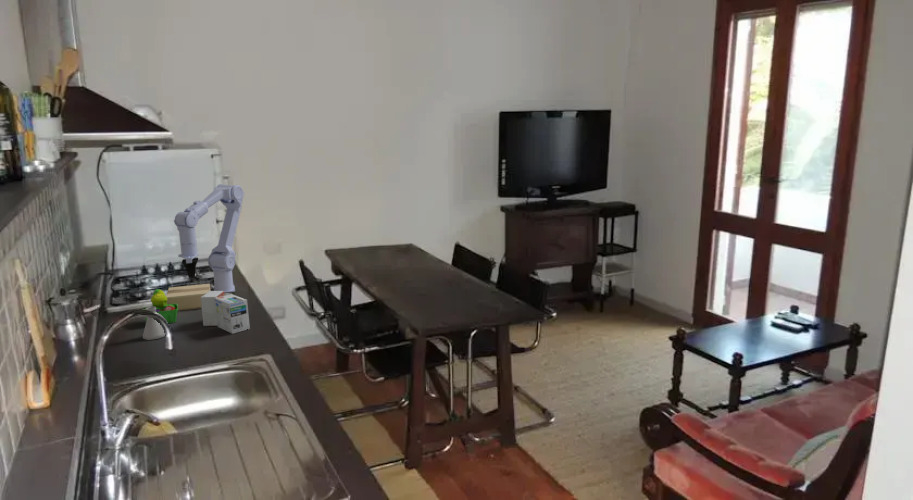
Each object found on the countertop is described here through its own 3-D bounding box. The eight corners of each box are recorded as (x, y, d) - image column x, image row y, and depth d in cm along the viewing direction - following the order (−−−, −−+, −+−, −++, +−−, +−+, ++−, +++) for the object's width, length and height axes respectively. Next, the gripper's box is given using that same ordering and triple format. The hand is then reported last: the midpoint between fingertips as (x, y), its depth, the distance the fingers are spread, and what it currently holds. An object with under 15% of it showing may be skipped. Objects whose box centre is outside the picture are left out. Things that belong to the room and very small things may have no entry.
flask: (161, 331, 219) (157, 303, 216) (169, 336, 214) (166, 307, 211) (139, 336, 214) (135, 308, 211) (147, 342, 209) (143, 312, 206)
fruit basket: (144, 327, 222) (140, 296, 220) (144, 320, 230) (140, 289, 228) (179, 322, 227) (176, 292, 224) (179, 315, 235) (175, 285, 232)
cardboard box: (170, 301, 252) (169, 289, 251) (211, 297, 257) (210, 285, 256) (167, 311, 239) (166, 299, 238) (210, 307, 244) (209, 294, 243)
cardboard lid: (169, 289, 251) (168, 287, 251) (210, 285, 256) (209, 283, 256) (166, 299, 238) (165, 297, 238) (209, 294, 243) (209, 292, 243)
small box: (218, 326, 223) (216, 297, 221) (203, 326, 223) (199, 297, 221) (227, 318, 231) (224, 290, 229) (212, 318, 231) (209, 290, 229)
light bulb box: (250, 329, 220) (247, 299, 217) (232, 334, 215) (229, 303, 212) (234, 322, 227) (232, 293, 224) (216, 327, 222) (213, 297, 220)
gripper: (178, 240, 251) (182, 273, 254) (175, 247, 238) (179, 282, 241) (197, 238, 254) (201, 272, 257) (196, 246, 240) (199, 281, 243)
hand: (192, 277), depth 249 cm, fingers closed
